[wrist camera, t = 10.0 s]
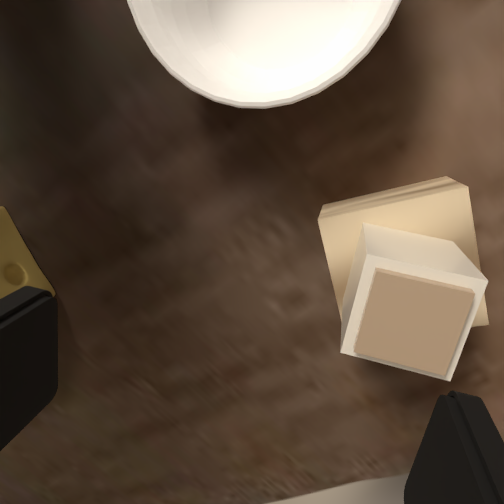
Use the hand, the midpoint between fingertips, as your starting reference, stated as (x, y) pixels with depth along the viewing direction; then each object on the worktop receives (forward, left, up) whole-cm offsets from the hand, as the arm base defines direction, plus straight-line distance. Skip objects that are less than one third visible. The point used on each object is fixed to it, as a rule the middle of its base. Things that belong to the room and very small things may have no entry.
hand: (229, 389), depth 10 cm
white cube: (+2, +6, -18) cm, 20 cm away
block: (+2, +7, -25) cm, 25 cm away
